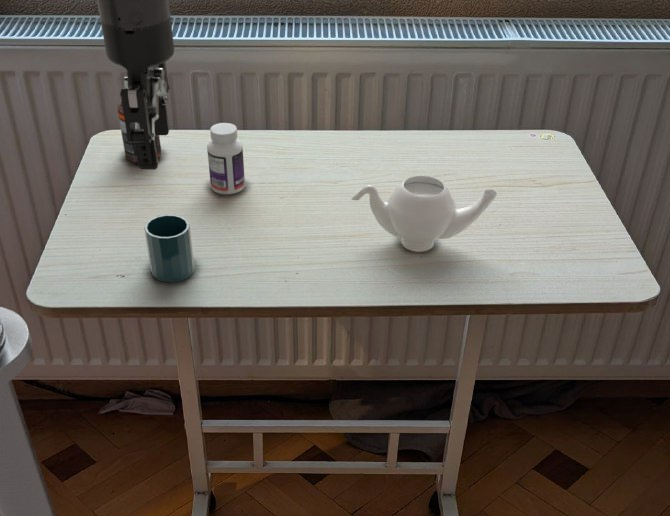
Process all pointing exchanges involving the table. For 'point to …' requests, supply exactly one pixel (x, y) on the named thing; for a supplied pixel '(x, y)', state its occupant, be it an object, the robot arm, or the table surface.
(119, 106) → the supplement bottle
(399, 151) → the table surface
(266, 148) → the table surface
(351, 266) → the table surface
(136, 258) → the table surface
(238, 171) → the pill bottle
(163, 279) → the cup
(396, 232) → the teapot
